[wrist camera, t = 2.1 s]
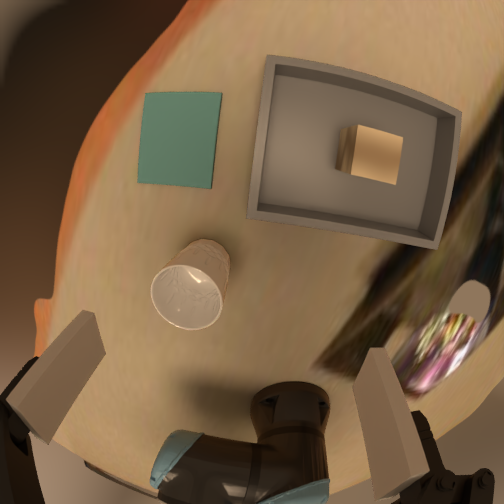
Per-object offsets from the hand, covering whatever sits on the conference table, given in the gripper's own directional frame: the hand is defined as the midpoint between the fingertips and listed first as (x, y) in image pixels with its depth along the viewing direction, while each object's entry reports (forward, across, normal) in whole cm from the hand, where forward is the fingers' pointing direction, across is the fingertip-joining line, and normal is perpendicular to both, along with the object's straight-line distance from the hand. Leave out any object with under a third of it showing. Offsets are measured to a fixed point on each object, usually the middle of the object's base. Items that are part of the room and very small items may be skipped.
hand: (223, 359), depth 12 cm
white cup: (+24, +6, +7) cm, 26 cm away
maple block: (+24, -11, -10) cm, 28 cm away
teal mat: (+24, +11, -9) cm, 28 cm away
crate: (+25, -11, -10) cm, 29 cm away
